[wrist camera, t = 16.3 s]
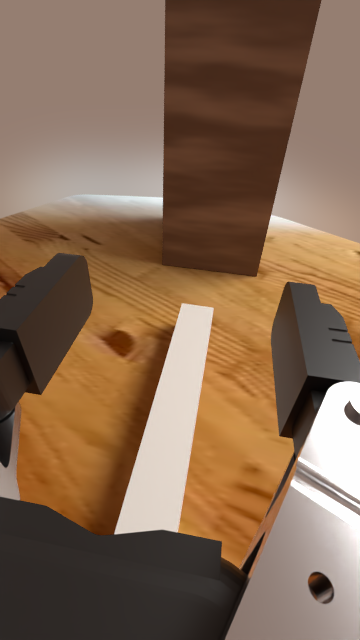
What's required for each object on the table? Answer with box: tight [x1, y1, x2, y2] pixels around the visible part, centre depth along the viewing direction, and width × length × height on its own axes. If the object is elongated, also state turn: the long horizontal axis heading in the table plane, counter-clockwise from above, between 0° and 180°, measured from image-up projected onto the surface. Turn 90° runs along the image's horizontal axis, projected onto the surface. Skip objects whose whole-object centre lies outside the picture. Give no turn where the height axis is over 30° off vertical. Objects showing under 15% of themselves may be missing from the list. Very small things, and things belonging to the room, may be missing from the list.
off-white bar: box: [114, 303, 214, 534], centre depth 21 cm, size 26×3×3 cm, turn 170°
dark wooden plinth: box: [162, 0, 321, 276], centre depth 36 cm, size 16×12×32 cm
